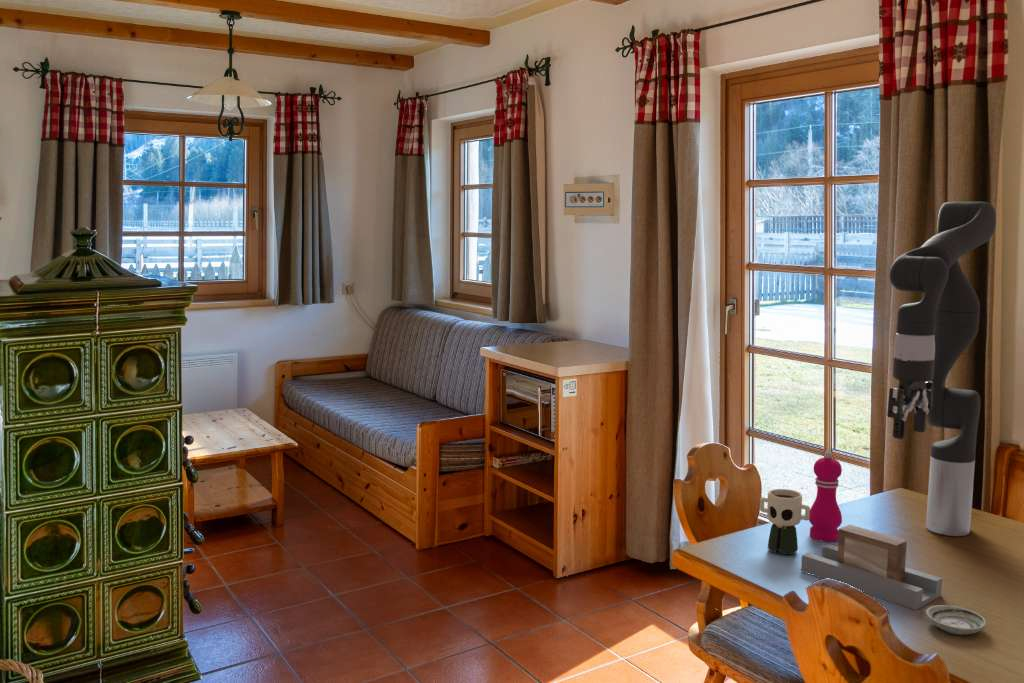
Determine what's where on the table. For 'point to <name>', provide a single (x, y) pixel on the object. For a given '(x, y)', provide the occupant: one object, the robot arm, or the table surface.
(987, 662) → the table surface
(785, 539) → the character mug
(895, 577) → the wooden framed block
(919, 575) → the picture ledge
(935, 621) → the saucer
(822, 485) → the pepper mill
